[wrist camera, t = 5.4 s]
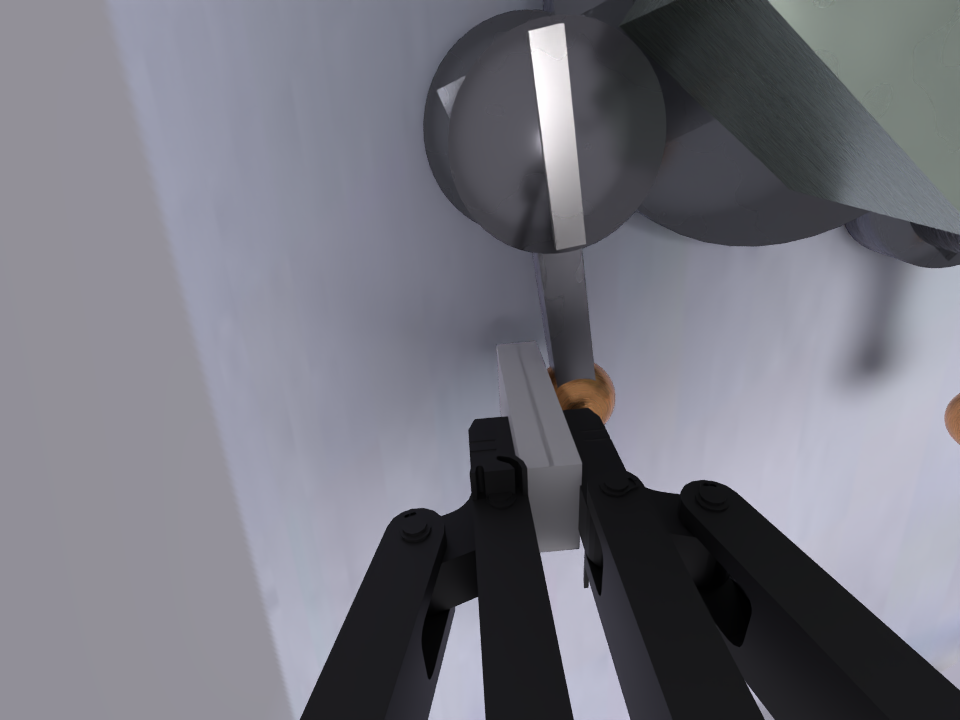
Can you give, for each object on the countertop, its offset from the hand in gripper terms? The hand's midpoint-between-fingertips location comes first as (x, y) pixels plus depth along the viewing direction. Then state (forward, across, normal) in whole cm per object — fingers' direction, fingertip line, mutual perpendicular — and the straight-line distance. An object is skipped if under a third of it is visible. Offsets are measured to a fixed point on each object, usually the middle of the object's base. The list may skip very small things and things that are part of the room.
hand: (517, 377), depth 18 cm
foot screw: (+2, +1, +4) cm, 5 cm away
